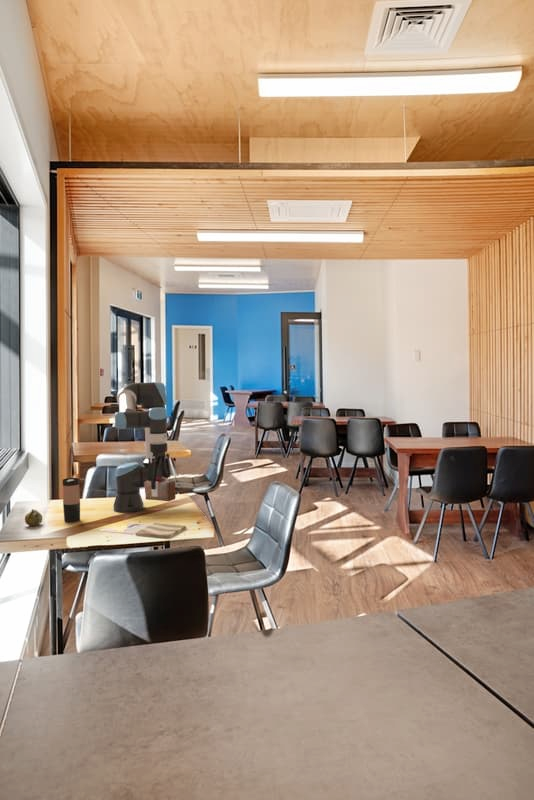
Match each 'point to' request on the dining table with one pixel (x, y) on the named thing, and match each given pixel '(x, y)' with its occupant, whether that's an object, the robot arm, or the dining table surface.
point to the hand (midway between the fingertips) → (160, 494)
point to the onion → (33, 518)
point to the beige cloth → (161, 530)
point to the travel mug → (71, 500)
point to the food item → (161, 490)
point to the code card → (129, 528)
